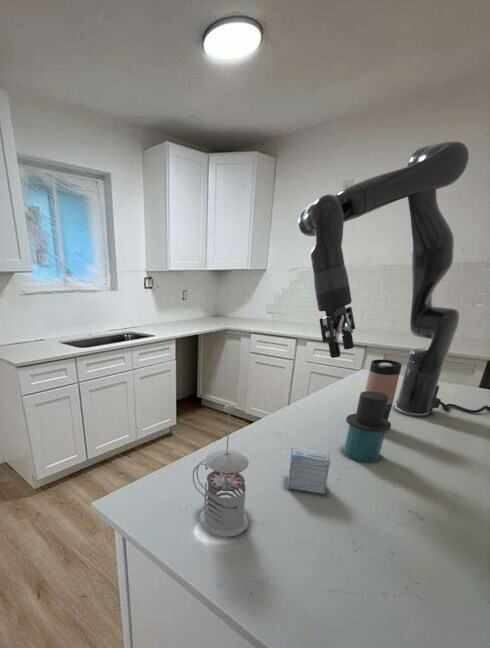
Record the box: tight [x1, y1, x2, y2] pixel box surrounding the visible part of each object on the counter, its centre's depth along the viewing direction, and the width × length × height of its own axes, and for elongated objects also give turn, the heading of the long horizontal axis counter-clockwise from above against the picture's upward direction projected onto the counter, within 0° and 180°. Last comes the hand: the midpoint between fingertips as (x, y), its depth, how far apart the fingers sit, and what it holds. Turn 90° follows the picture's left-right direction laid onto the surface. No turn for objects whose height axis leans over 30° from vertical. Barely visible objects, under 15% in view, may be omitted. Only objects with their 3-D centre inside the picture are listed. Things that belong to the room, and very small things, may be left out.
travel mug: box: [364, 359, 403, 421], centre depth 106 cm, size 8×8×20 cm
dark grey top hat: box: [345, 390, 392, 432], centre depth 90 cm, size 10×10×10 cm
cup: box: [343, 424, 386, 463], centre depth 93 cm, size 8×8×9 cm
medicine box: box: [286, 447, 331, 495], centre depth 81 cm, size 8×4×9 cm, turn 71°
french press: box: [192, 403, 250, 538], centre depth 68 cm, size 10×12×25 cm
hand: (342, 352), depth 92 cm, fingers open, 8 cm apart
